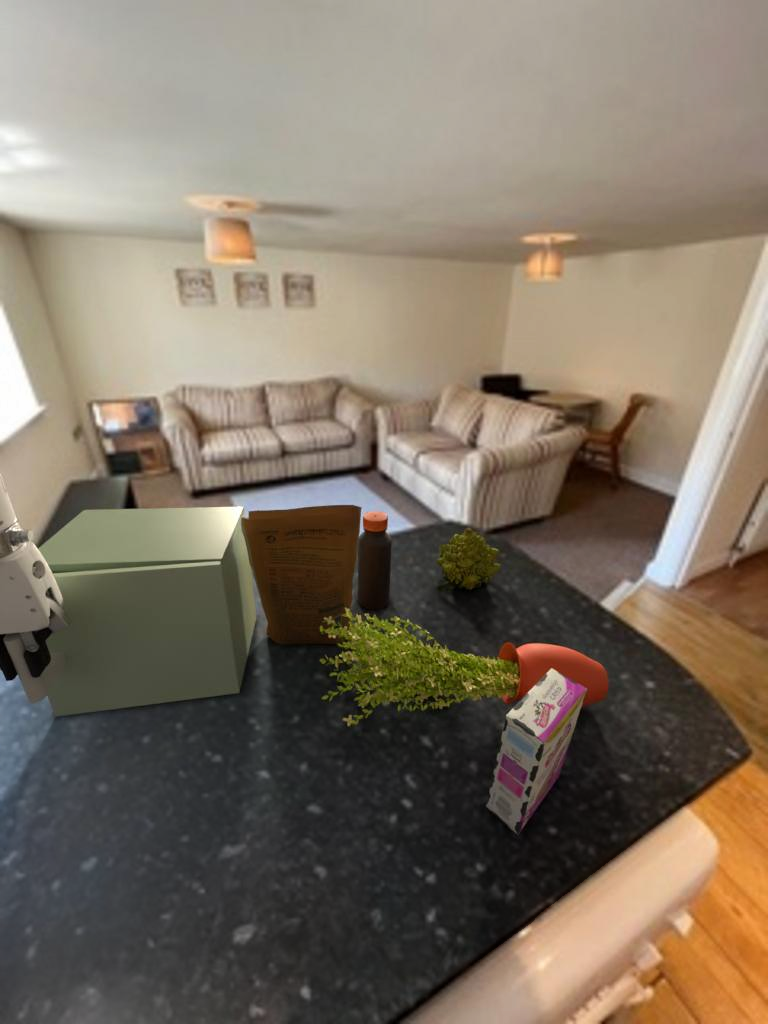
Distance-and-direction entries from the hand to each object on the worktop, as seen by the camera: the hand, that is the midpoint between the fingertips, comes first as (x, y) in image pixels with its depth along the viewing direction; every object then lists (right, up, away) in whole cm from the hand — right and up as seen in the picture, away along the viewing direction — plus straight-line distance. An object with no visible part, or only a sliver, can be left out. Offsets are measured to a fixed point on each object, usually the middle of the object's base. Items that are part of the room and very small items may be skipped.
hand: (29, 670), depth 56 cm
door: (+9, -11, +10) cm, 18 cm away
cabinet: (+7, -5, +23) cm, 25 cm away
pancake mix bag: (+31, -4, +28) cm, 42 cm away
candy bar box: (+63, -17, +2) cm, 65 cm away
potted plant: (+57, -10, +17) cm, 60 cm away
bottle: (+42, +1, +39) cm, 58 cm away
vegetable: (+64, +4, +47) cm, 79 cm away
